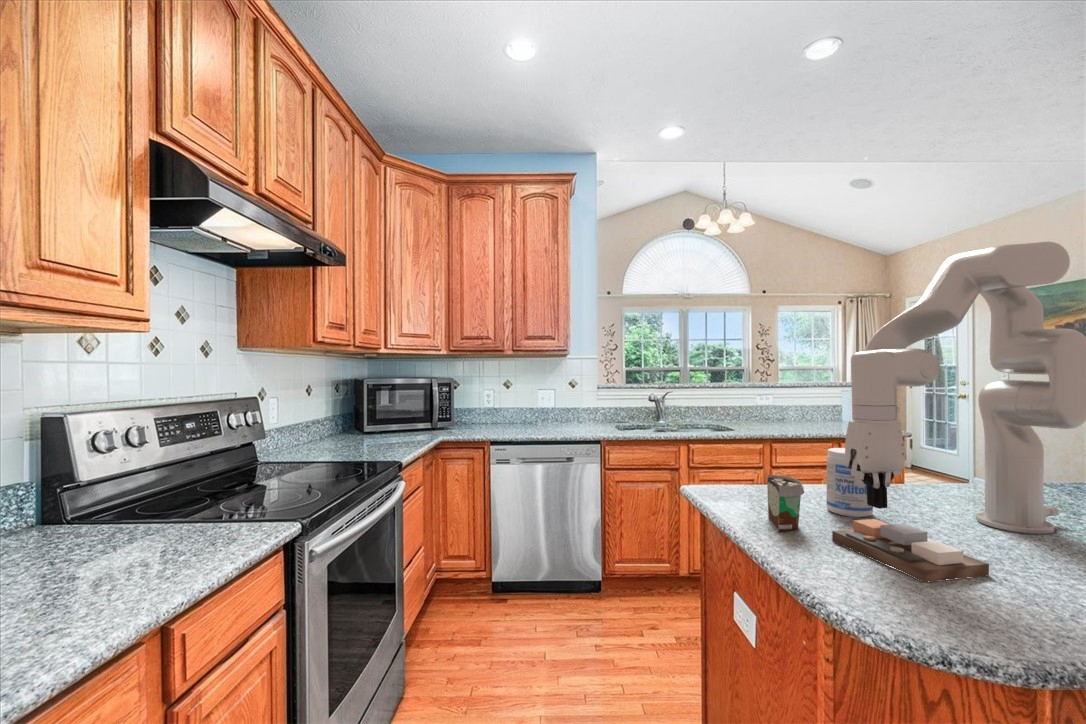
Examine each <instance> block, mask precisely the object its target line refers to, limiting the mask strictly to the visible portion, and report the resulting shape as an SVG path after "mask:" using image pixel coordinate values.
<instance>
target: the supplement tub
mask: <svg viewBox="0 0 1086 724" xmlns="http://www.w3.org/2000/svg"><path fill="white" fill-rule="evenodd" d="M826 455H827V456H826V499H825V500H826V501H825V502H826V503H825V505H826V509H827V510H828V511H830V512H832V513H834V514H837V515H841V516H844V517H852V518H865V517H866V518H867V517H870V516H872V514H873V513H874V512H873V511H874V507H873V506H870V505H868V504H867V485H864V484H863V481H862V480H861V479H856V478H853V477H851V469H849V468H847V467H846V465H845V447H832V448H828V449H827V454H826ZM870 476H871V475H870Z"/></svg>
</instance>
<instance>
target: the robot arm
mask: <svg viewBox="0 0 1086 724" xmlns="http://www.w3.org/2000/svg"><path fill="white" fill-rule="evenodd" d="M1070 264H1071V258H1070V255H1069V252H1068V251H1067V249H1066V248H1065V247H1064V246H1062V245H1061V244H1060V243H1057V242H1054V241H1039V242H1037V241H1036V242H1029V243H1028V242H1027V243H1014V244H1003V245H996V246H990V247H987V248H981V249H980V248H979V249H975V250H969V251H964V252H960V253H956V254H954V255H951V256H949V257H948V258H946V259H945V261H943V262H942V264H941V265H940V267H939V268H938V269H937V271H936V273H935V274H934V275H933V277H932V279H931V280H930V282H929V284H928V285H927V287H926V288H925V290H924V291H923V292H922V294H921V295H920V297H919V298H918V300H917V302H915V304H913V305H912V306H911V307H910V308H907V309H906V310H904V311H903V312H902V313H900V314H899V315H897V316H895V317H894V318H893V319H892V320H890V321H887V323H886V324H884V325H883V326H882V327H880V328H879V329H878V330H877V331H876V332H875V333H874V334H873V336H872V337H871V338H870V340H869V341H868V342H867V344H866V346H865V347H864V348H863V350H862V351H857V352H854V353H852V355H851V356H850V357H851V358H850V379H851V381H850V383H851V412H852V414H851V418H852V419H851V420H849V421H848V422H847V423H848V424H847V429H846V433H845V445H844V446H845V447H844V448H845V465H846V467H847V468H849V469H851V477H853V478H856V479H861V480H862V481H863V484H864V485H867V504H868V505H870V506H873V508H876V509H887V508H888V488H889V487H890V486H891V481H892V480H893V478H895V477H897V476H901V475H902V473H903V472H902V469H903V468H904V467H905V459H906V457H905V456H906V455H905V444H904V443H905V441H904V435H903V430H902V426H901V423H900V420H899V419H898V418H899V417H898V416H899V414H898V413H899V412H900V408H899V407H898V387H911V388H912V387H913V388H915V387H923V386H927V385H929V384H931V383H932V382H934V381H935V380H936V379H937V378H938V376H939V374H940V373H941V364H940V361H939V359H938V357H937V356H936V355H935V354H933V352H930V350H926V349H922V348H908V347H910V346H912V345H913V344H915V343H918V342H920V341H922V340H926V339H928V338H932V337H934V336H937V335H940V334H943V333H945V332H948V331H950V330H953V328H956V327H957V326H959V324H961V322H962V321H963V320H964V318H965V316H966V314H967V313H968V312H969V310H970V308H971V307H972V306H973V303H974V302H975V300H976V299H977V297H978V296H979V294H980V296H981V297H983V299H984V301H985V302H986V303H987V307H988V309H989V312H990V332H989V334H990V338H989V360H990V365H991V366H992V368H993V369H994V370H995V371H997V372H1000V373H1003V374H1010V375H1011V374H1012V375H1035V376H1037V375H1042V376H1043V375H1044V376H1048V381H1046V380H1045V381H1043V380H1042V381H1039V380H1024V379H1022V380H1017V379H1005V380H996V381H995V380H994V381H992V382H989V383H987V384H986V385H984V386H983V387H982V388H981V389H980V391H979V393H978V399H977V400H978V408H979V412H980V415H981V420H982V426H983V434H984V438H983V439H984V511H980V512H977V513H975V519H976V521H978V523H980V524H983V525H985V526H988V527H991V528H996V529H999V530H1004V531H1008V532H1016V533H1022V534H1030V535H1031V534H1032V535H1033V534H1034V535H1049V534H1052V533H1054V532H1055V525H1054V524H1052V523H1051V522H1050V521H1047V518H1048V517H1055V516H1057V515H1059V510H1058V508H1057V507H1056V506H1046V505H1044V504H1045V497H1044V495H1045V494H1044V493H1045V492H1044V491H1045V490H1044V489H1045V488H1044V487H1045V486H1044V485H1045V483H1044V481H1045V480H1044V479H1045V477H1044V475H1045V474H1044V473H1045V471H1044V464H1045V463H1044V462H1045V460H1044V459H1045V458H1044V457H1045V453H1044V452H1045V451H1044V445H1043V442H1042V439H1041V438H1040V436H1039V434H1037V432H1036V431H1035V429H1034V428H1033V427H1038V428H1039V427H1040V428H1049V429H1050V428H1051V429H1058V430H1070V429H1071V430H1073V429H1076V428H1077V429H1078V428H1079V427H1081V426H1082V425H1083V424H1085V422H1086V335H1084V333H1082V332H1081V331H1079V330H1076V329H1072V328H1062V327H1061V328H1044V327H1045V326H1044V306H1043V304H1042V302H1041V301H1040V299H1039V298H1038V296H1036V295H1035V294H1034V293H1033V292H1032V291H1031V290H1030V289H1028V288H1027V287H1033V286H1042V285H1049V284H1053V283H1057V282H1058V281H1060V280H1061V279H1062V278H1063V277H1064V276H1065V275H1066V274H1067V272H1068V271H1069V269H1070ZM870 475H871V476H870Z"/></svg>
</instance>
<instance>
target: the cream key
mask: <svg viewBox="0 0 1086 724" xmlns="http://www.w3.org/2000/svg"><path fill="white" fill-rule="evenodd" d="M912 554H915V555H917V556H920V557H922V558H924V559H925V560H927V561H929V562H932V563H934V564H937V565H946V564H956V563H963V555H964V550H963V549H960V548H956V547H954V546H951V545H948V544H945V543H943V542H940V541H938V540H937V541H936V540H929V541H928V540H927V542H916V543H912Z"/></svg>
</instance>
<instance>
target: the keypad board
mask: <svg viewBox="0 0 1086 724" xmlns="http://www.w3.org/2000/svg"><path fill="white" fill-rule="evenodd" d="M831 533H832V534H831V536H832V537H831V538H832V539H831V540H832V542H834V543H836V542H837V543H836V544H838V543H839V544H838V545H840V544H841V546H843V545H844V546H843V547H845V546H846V547H845V548H847V547H848V549H849V548H851V549H853V550H852V551H854V550H855V551H854V552H856V551H857V552H856V553H858V552H860V553H862V554H864V555H866V556H865V557H867V556H868V557H867V558H869V557H871V558H873V559H875V560H878V561H880V562H882V563H884V564H887V565H889V566H892V567H894V568H896V569H898V570H901V571H903V572H905V573H907V574H909V575H911V576H913V577H915V578H917V579H919V580H922V581H923V582H922V581H921V582H922V583H924V582H926V583H931V582H930V581H936V582H939V581H938V580H945V581H947V580H946V579H954V580H956V579H955V578H963V579H968V578H967V577H973V578H976V577H975V576H982V577H987V576H986V575H989V576H990V568H989V567H990V564H989V563H987V562H985V561H982V560H979V559H977V558H974V557H971V556H969V555H965V554H963V563H956V564H946V565H937V564H934V563H932V562H929V561H927V560H925V559H924V558H922V557H920V556H917V555H915V554H912V544H911V545H902V544H900V543H897V542H895V541H892V540H890V539H887V538H879V539H876V538H875V537H872V536H868V535H865V534H863V533H860V532H856V531H853V528H851V529H838V530H832V531H831ZM851 549H850V550H851ZM860 553H859V554H860ZM862 554H861V555H862ZM864 555H863V556H864ZM871 558H870V559H871ZM873 559H872V560H873ZM875 560H874V561H875ZM878 561H877V562H878ZM880 562H879V563H880ZM882 563H881V564H882ZM884 564H883V565H884ZM889 566H888V567H889ZM911 576H910V577H911ZM913 577H912V578H913ZM915 578H914V579H915ZM917 579H916V580H917ZM919 580H918V581H919ZM928 581H929V582H928Z"/></svg>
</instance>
